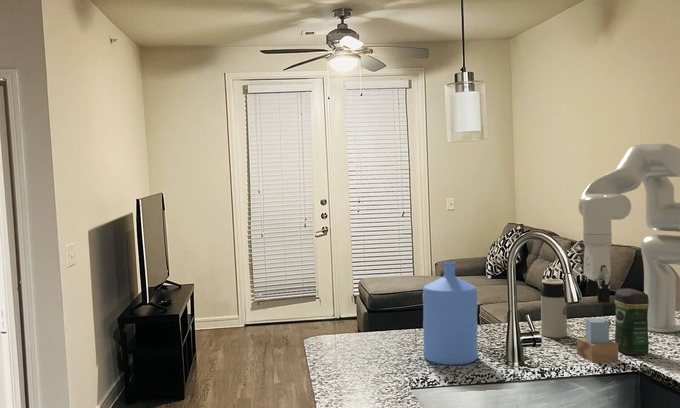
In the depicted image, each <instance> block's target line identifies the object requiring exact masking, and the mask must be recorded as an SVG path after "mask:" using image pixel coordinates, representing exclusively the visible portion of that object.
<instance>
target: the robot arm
mask: <svg viewBox="0 0 680 408" xmlns="http://www.w3.org/2000/svg"><path fill="white" fill-rule="evenodd" d="M671 177H672V178H674V177H675V178H680V147H677V146H675V145H673V144H669V143H644V144H643V143H641V144H640V143H639V144H635V145H633V146H631V147H629V148H628V150H627V151H626V152H625V154H624V156H623V157H622V158H621V159H620V162H619V163H618V164H617V166H616V168H615V169H614V170H612V171H610V172H608V173H605V174H603V175H602V176H600V177H599V178H597V179H595V180H593V181H592V182H591V183H589V184H588V186H587V187H586V188H585V189H584V191H583V193H582V194H581V196H580V198H579V202H578V211H579V214H580V215H581V216H582V222H583V224H582V225H583V226H582V227H583V229H582V230H583V231H582V232H583V235H582V236H583V239H582V240H583V242H582V243H583V246H584V250H583V276H585V277H586V295H587V296H597V302H598V303H599V304H603V303H610V302H611V286H610V284H611V280H610V279H611V274H612V273H611V269H612V268H611V255H610V252H611V251H610V246H612V244H613V243H612V239H613V237H612V235H613V234H612V220H613V221H615V220H616V221H619V220H623V219H625V218H627V217H628V216H629V215H630V213H631V211H632V202H631V200H630V199H629V198H628V196H626V195H625V193H628V192H629V193H630V192H631V191H634V190H636V189H638V188H639V187H640V186H641V184H643V186H644V189H645V220H646V221H645V222H646V225H647V227H648V229H651V230H654V231H660V232H663V231H664V232H675V233H676V232H678V233H680V202H676V200H675V188H674V187H675V186H674V185H673V182H672V181H671V180H670V178H671ZM640 251H641V256H642V262H643V292H644V293H645V294H647V295H648V299H649V307H648V332H654V333H677V332H679V331H680V325H679V324H677V323H676V302H677V301H676V299H677V298H676V297H677V296H676V294H677V293H676V291H677V290H676V282H677V280H676V275H675V273H674V271H673V270H672V268H671V267H670V265H677V266H678V265H679V266H680V235H672V234H651V235H647V236H645V237H644V238H643V239H642V241H641V244H640Z"/></svg>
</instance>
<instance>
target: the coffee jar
mask: <svg viewBox="0 0 680 408" xmlns="http://www.w3.org/2000/svg"><path fill="white" fill-rule="evenodd" d="M614 306H615V327H614V328H615V329H614V342H616V343H618V352H621V353H623V354H627V355H633V356H634V355H635V356H643V355H647V354H648V353H649V351H650V349H649V348H650V347H649V342H650V341H649V331H648V307H649V299H648V295H647V294H645V293H644V291H639V290H637V289H633V288H628V287H627V288H618V289H617V290H616V291H615V294H614Z"/></svg>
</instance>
